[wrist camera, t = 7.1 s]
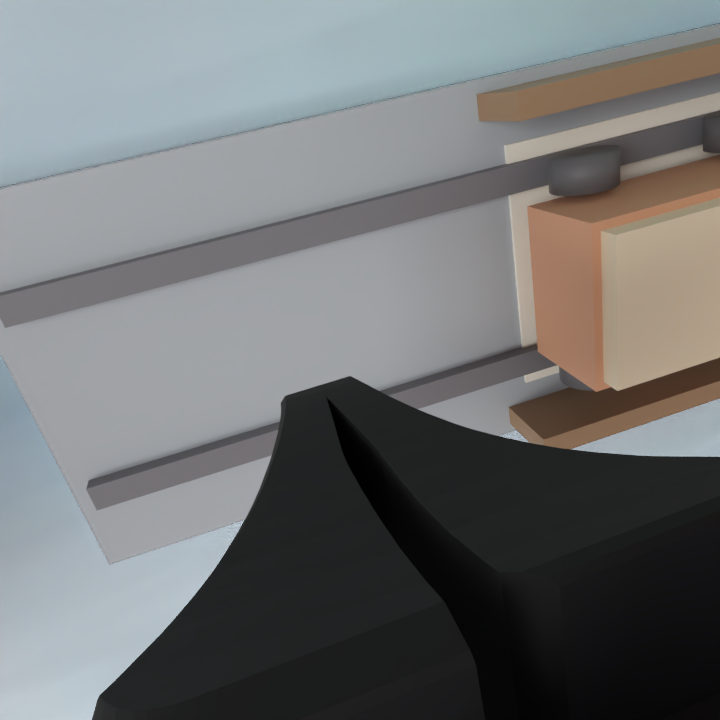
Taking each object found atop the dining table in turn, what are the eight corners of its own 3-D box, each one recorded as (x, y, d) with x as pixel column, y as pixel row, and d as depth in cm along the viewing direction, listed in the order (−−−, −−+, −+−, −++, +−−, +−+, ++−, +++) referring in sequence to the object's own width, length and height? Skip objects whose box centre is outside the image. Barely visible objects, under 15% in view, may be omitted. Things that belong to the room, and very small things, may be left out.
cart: (515, 163, 14) (606, 175, 11) (758, 101, 15) (904, 96, 12) (532, 377, 17) (610, 437, 14) (739, 312, 18) (856, 353, 15)
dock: (-57, 200, 13) (-124, 222, 10) (762, 13, 16) (876, -9, 13) (113, 541, 17) (98, 620, 14) (733, 339, 20) (816, 373, 18)
